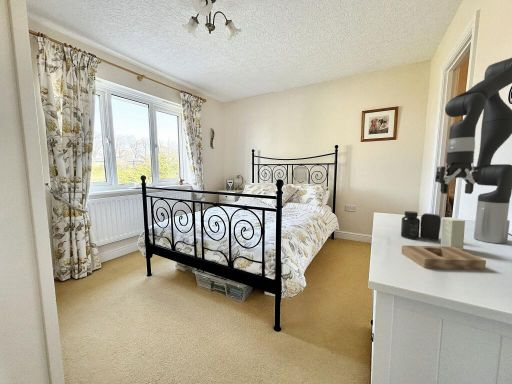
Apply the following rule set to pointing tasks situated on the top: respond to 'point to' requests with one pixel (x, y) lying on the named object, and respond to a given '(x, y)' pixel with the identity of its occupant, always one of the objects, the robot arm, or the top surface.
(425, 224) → the battery charger
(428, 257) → the board
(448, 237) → the skincare box
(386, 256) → the top surface
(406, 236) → the supplement bottle
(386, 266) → the top surface
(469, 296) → the top surface
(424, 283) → the top surface
